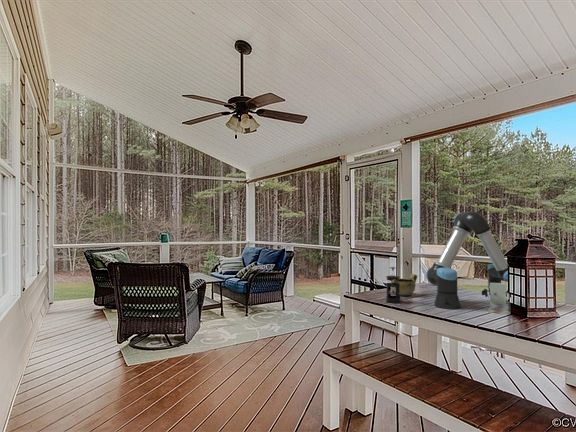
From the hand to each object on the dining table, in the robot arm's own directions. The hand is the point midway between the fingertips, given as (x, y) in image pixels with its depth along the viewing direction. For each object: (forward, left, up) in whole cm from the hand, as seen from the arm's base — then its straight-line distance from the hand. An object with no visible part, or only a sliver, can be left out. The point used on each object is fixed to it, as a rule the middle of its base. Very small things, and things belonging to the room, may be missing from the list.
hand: (498, 296), depth 210 cm
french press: (-48, -38, -9) cm, 62 cm away
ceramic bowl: (-63, -16, -9) cm, 65 cm away
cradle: (+1, -1, -9) cm, 9 cm away
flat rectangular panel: (-3, +3, -9) cm, 10 cm away
